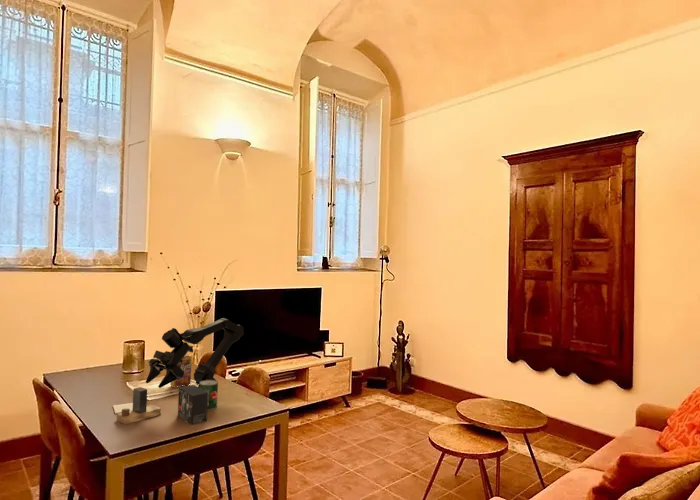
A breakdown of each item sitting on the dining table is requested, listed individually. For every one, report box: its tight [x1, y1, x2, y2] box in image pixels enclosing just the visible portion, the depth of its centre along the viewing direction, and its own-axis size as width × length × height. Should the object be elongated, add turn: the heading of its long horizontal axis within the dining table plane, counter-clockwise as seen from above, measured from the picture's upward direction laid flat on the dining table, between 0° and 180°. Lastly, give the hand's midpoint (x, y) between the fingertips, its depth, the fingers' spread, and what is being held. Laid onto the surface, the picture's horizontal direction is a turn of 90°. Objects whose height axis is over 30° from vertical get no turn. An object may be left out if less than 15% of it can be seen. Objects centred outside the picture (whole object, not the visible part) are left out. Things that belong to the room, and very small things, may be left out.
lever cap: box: [132, 386, 148, 414], centre depth 187 cm, size 3×5×9 cm, turn 55°
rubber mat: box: [112, 402, 133, 415], centre depth 196 cm, size 10×10×1 cm
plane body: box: [116, 404, 162, 425], centre depth 187 cm, size 15×6×5 cm, turn 145°
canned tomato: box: [198, 379, 219, 411], centre depth 202 cm, size 8×8×11 cm
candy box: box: [169, 353, 193, 388], centre depth 229 cm, size 9×4×15 cm, turn 134°
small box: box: [177, 384, 208, 426], centre depth 188 cm, size 13×7×12 cm, turn 45°
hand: (152, 385), depth 191 cm, fingers open, 9 cm apart
